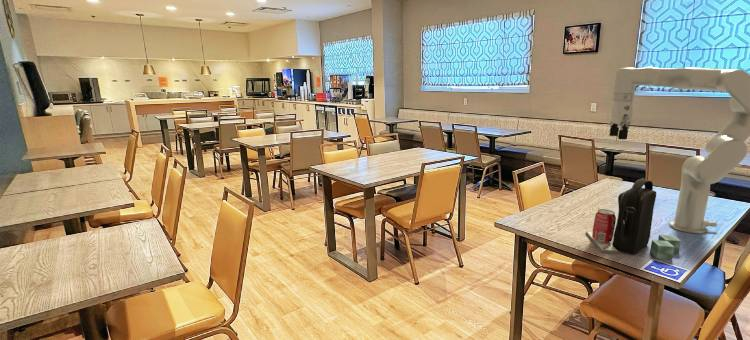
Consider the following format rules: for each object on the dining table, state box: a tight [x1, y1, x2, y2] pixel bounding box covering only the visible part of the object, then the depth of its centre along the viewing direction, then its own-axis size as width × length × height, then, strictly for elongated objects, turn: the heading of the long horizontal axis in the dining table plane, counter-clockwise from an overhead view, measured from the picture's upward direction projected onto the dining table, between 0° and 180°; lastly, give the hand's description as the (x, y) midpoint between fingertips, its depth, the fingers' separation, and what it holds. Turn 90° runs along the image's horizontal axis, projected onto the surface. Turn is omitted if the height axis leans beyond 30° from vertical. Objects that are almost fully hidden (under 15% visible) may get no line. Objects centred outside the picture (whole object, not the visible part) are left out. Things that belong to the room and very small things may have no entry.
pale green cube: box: [657, 234, 682, 254], centre depth 144 cm, size 5×5×5 cm
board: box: [585, 231, 619, 254], centre depth 151 cm, size 6×18×1 cm, turn 168°
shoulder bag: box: [611, 177, 657, 256], centre depth 144 cm, size 23×9×28 cm, turn 130°
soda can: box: [591, 208, 617, 243], centre depth 149 cm, size 7×7×12 cm
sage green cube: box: [649, 239, 674, 260], centre depth 139 cm, size 5×5×5 cm
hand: (617, 137), depth 166 cm, fingers open, 9 cm apart
